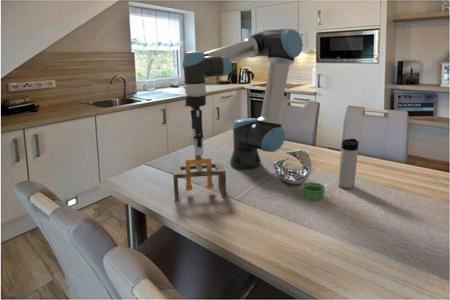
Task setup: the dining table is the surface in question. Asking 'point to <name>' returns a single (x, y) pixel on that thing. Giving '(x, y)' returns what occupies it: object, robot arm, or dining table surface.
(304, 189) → the ramekin
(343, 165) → the travel mug
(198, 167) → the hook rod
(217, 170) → the brown frame with crossbar
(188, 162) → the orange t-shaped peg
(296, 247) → the dining table surface
